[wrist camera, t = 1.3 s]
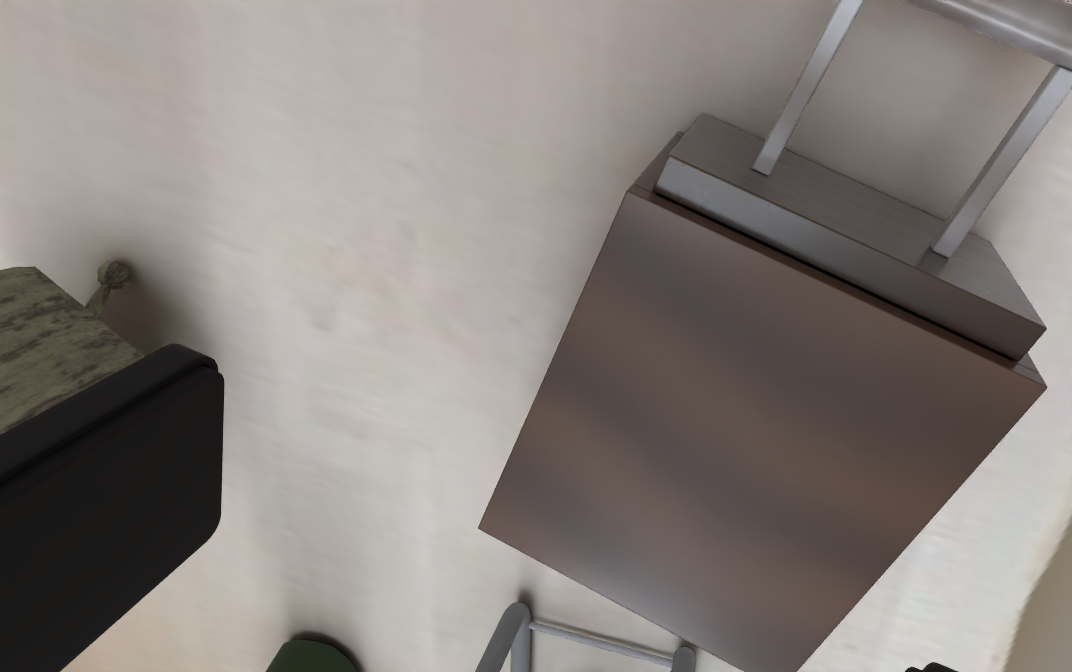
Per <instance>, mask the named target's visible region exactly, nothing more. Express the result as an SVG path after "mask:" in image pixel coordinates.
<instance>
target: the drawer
mask: <svg viewBox="0 0 1072 672" xmlns="http://www.w3.org/2000/svg"><path fill="white" fill-rule="evenodd" d="M902 1H904V2H907V3H909V4H912V5H914V6H916V7H919V8H921V9H924V10H926V11H928V12H931V13H933V14H936V15H938V16H940V17H943V18H945V19H947V20H950V21H952V22H955V23H957V24H959V25H962V26H964V27H967V28H969V29H971V30H974V31H976V32H979V33H981V34H983V35H986V36H988V37H991V38H993V39H995V40H998V41H1000V42H1003V43H1005V44H1007V45H1010V46H1012V47H1014V48H1017V49H1019V50H1022V51H1024V52H1026V53H1029V54H1031V55H1034V56H1036V57H1038V58H1041V59H1043V60H1046V61H1048V62H1050V63H1053V64H1055V66H1053V68H1052V69H1051V71H1050V72H1049V73H1048V75H1047V76H1046V78H1045V79H1044V81H1043V82H1042V83H1041V85H1040V86H1039V88H1038V89H1037V91H1036V92H1035V94H1034V95H1033V96H1032V98H1031V99H1030V101H1029V102H1028V104H1027V105H1026V107H1025V108H1024V109H1023V111H1022V112H1021V114H1020V115H1019V117H1018V118H1017V120H1016V121H1015V122H1014V124H1013V125H1012V127H1011V128H1010V130H1009V131H1008V132H1007V134H1006V135H1005V137H1004V138H1003V140H1002V141H1001V143H1000V144H999V145H998V147H997V148H996V150H995V151H994V153H993V154H992V156H991V157H990V158H989V160H988V161H987V163H986V164H985V166H984V167H983V168H982V170H981V171H980V173H979V174H978V176H977V177H976V179H975V180H974V181H973V183H972V184H971V186H970V187H969V189H968V190H967V192H966V193H965V194H964V196H963V197H962V199H961V200H960V202H959V203H958V204H957V206H956V207H955V209H954V210H953V212H952V213H951V215H950V216H949V217H948V219H947V220H946V222H945V221H943V220H941V219H938V218H936V217H934V216H932V215H930V214H927V213H925V212H923V211H921V210H918V209H916V208H914V207H912V206H910V205H907V204H905V203H903V202H901V201H898V200H896V199H894V198H892V197H890V196H887V195H885V194H883V193H881V192H878V191H876V190H874V189H872V188H870V187H867V186H865V185H863V184H861V183H858V182H856V181H854V180H852V179H850V178H847V177H845V176H843V175H841V174H838V173H836V172H834V171H832V170H830V169H827V168H825V167H823V166H821V165H818V164H816V163H814V162H812V161H810V160H807V159H805V158H803V157H801V156H798V155H796V154H794V153H792V152H790V151H787V150H785V149H784V148H785V146H786V144H787V142H788V140H789V138H790V136H791V135H792V133H793V131H794V129H795V127H796V125H797V124H798V122H799V120H800V118H801V116H802V114H803V112H804V111H805V109H806V107H807V105H808V103H809V101H810V100H811V98H812V96H813V94H814V92H815V90H816V88H817V87H818V85H819V83H820V81H821V79H822V77H823V76H824V74H825V72H826V70H827V68H828V66H829V64H830V63H831V61H832V59H833V57H834V55H835V53H836V51H837V50H838V48H839V46H840V44H841V42H842V40H843V39H844V37H845V35H846V33H847V31H848V29H849V27H850V26H851V24H852V22H853V20H854V18H855V16H856V15H857V13H858V11H859V9H860V7H861V5H862V3H863V2H864V0H839V1H838V3H837V5H836V7H835V9H834V11H833V13H832V15H831V16H830V18H829V20H828V22H827V24H826V26H825V28H824V30H823V32H822V34H821V35H820V37H819V39H818V41H817V43H816V45H815V47H814V49H813V51H812V53H811V55H810V56H809V58H808V60H807V62H806V64H805V66H804V68H803V70H802V72H801V74H800V76H799V77H798V79H797V81H796V83H795V85H794V87H793V89H792V91H791V93H790V95H789V96H788V98H787V100H786V102H785V104H784V106H783V108H782V110H781V112H780V114H779V116H778V117H777V119H776V121H775V123H774V125H773V127H772V129H771V131H770V133H769V135H768V136H767V138H766V140H763V139H761V138H758V137H756V136H754V135H752V134H750V133H747V132H745V131H743V130H741V129H738V128H736V127H734V126H732V125H730V124H727V123H725V122H723V121H721V120H718V119H716V118H714V117H712V116H710V115H707V114H705V113H702V114H701V115H700V116H699V117H698V119H697V120H696V121H695V122H694V124H693V125H692V126H691V127H690V129H689V130H688V131H687V132H686V134H685V135H684V136H683V138H682V139H681V140H680V141H679V143H678V144H677V145H676V146H675V148H674V149H673V150H672V151H671V153H670V154H669V155H668V157H667V159H666V161H665V163H664V165H663V168H662V170H661V172H660V174H659V176H658V178H657V181H656V183H655V185H654V187H653V191H654V192H656V193H658V194H660V195H662V196H664V197H666V198H668V199H671V200H673V201H675V202H677V203H676V205H678V206H681V207H683V208H685V209H687V210H689V211H691V212H693V213H696V214H698V215H700V216H702V217H704V218H706V219H708V220H710V221H713V222H715V223H717V224H719V225H721V226H723V227H725V228H728V229H730V230H732V231H734V232H736V233H738V234H740V235H743V236H745V237H747V238H749V239H751V240H753V241H755V242H758V243H760V244H762V245H764V246H766V247H768V248H770V249H773V250H775V251H777V252H779V253H781V254H783V255H785V256H788V257H790V258H792V259H794V260H796V261H798V262H800V263H803V264H805V265H807V266H809V267H811V268H813V269H815V270H818V271H820V272H822V273H824V274H826V275H828V276H830V277H833V278H835V279H837V280H839V281H841V282H843V283H845V284H848V285H850V286H852V287H854V288H856V289H858V290H860V291H863V292H865V293H867V294H869V295H871V296H873V297H875V298H878V299H880V300H882V301H884V302H886V303H888V304H890V305H893V306H895V307H897V308H899V309H901V310H903V311H905V312H908V313H910V314H912V315H914V316H916V317H918V318H920V319H923V320H925V321H927V322H929V323H931V324H933V325H935V326H938V327H940V328H942V329H944V327H945V328H947V329H949V330H951V331H954V332H956V333H958V334H960V335H962V336H964V337H966V338H969V339H971V340H973V341H975V342H977V343H979V344H981V345H984V346H986V347H988V348H990V349H992V350H994V351H996V352H999V353H1001V354H1003V355H1005V356H1007V357H1009V358H1011V359H1014V360H1016V361H1020V360H1021V359H1022V358H1023V357H1024V356H1025V354H1026V353H1027V352H1028V351H1029V350H1030V348H1031V347H1032V346H1033V345H1034V344H1035V343H1036V341H1037V340H1038V339H1039V338H1040V337H1041V335H1042V334H1043V333H1044V332H1045V331H1046V329H1047V328H1046V326H1045V325H1044V323H1043V322H1042V320H1041V319H1040V317H1039V316H1038V314H1037V312H1036V311H1035V309H1034V308H1033V306H1032V305H1031V303H1030V302H1029V300H1028V299H1027V297H1026V296H1025V294H1024V293H1023V291H1022V290H1021V288H1020V286H1019V285H1018V283H1017V282H1016V280H1015V279H1014V277H1013V276H1012V274H1011V273H1010V271H1009V270H1008V268H1007V267H1006V265H1005V264H1004V262H1003V261H1002V259H1001V257H1000V256H999V254H998V253H997V251H996V250H995V248H994V247H993V245H992V244H991V242H990V241H987V240H985V239H983V238H981V237H978V236H976V235H974V234H972V233H970V232H969V231H970V229H971V228H972V227H973V225H974V224H975V222H976V221H977V220H978V218H979V217H980V215H981V214H982V213H983V211H984V210H985V209H986V207H987V206H988V204H989V203H990V202H991V200H992V199H993V197H994V196H995V195H996V193H997V192H998V190H999V189H1000V188H1001V186H1002V185H1003V183H1004V182H1005V181H1006V179H1007V178H1008V176H1009V175H1010V174H1011V172H1012V171H1013V169H1014V168H1015V167H1016V165H1017V164H1018V163H1019V161H1020V160H1021V158H1022V157H1023V156H1024V154H1025V153H1026V151H1027V150H1028V149H1029V147H1030V146H1031V144H1032V143H1033V142H1034V140H1035V139H1036V137H1037V136H1038V135H1039V133H1040V132H1041V130H1042V129H1043V128H1044V126H1045V125H1046V123H1047V122H1048V121H1049V119H1050V118H1051V117H1052V115H1053V114H1054V112H1055V111H1056V110H1057V108H1058V107H1059V105H1060V104H1061V103H1062V101H1063V100H1064V98H1065V97H1066V96H1067V94H1068V93H1069V91H1070V90H1071V89H1072V4H1069V3H1067V2H1065V1H1062V0H902ZM1057 65H1058V66H1057ZM944 330H945V329H944Z"/></svg>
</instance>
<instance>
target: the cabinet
mask: <svg viewBox="0 0 1072 672" xmlns="http://www.w3.org/2000/svg"><path fill="white" fill-rule="evenodd" d="M684 135H685V134H683V133H681V132H677V133H676V134H675V136H674V137H673V138H672V139H671V140H670V142H669V143H668V144H667V145H666V146H665V147H664V149H663V150H662V151H661V152H660V153H659V154H658V156H657V157H656V158H655V159H654V160H653V161H652V163H651V164H650V165H649V166H648V167H647V168H646V170H645V171H644V172H643V173H642V174H641V175H640V177H639V178H638V179H637V180H636V181H635V182H634V184H633V185H631V187H630V188H629V189H628V190H627V191H626V194H625V196H624V198H623V200H622V203H621V205H620V207H619V209H618V212H617V214H616V216H615V219H614V221H613V223H612V225H611V228H610V230H609V232H608V234H607V237H606V239H605V241H604V243H603V246H602V248H601V250H600V252H599V255H598V257H597V259H596V262H595V264H594V266H593V268H592V271H591V273H590V275H589V277H588V280H587V282H586V284H585V286H584V289H583V291H582V293H581V296H580V298H579V300H578V302H577V305H576V307H575V309H574V311H573V314H572V316H571V318H570V320H569V323H568V325H567V327H566V329H565V332H564V334H563V336H562V339H561V341H560V343H559V345H558V348H557V350H556V352H555V354H554V357H553V359H552V361H551V363H550V366H549V368H548V370H547V372H546V375H545V377H544V379H543V382H542V384H541V386H540V388H539V391H538V393H537V395H536V397H535V400H534V402H533V404H532V406H531V409H530V411H529V413H528V416H527V418H526V420H525V422H524V425H523V427H522V429H521V431H520V434H519V436H518V438H517V440H516V443H515V445H514V447H513V449H512V452H511V454H510V456H509V459H508V461H507V463H506V465H505V468H504V470H503V472H502V474H501V477H500V479H499V481H498V483H497V486H496V488H495V490H494V493H493V495H492V497H491V499H490V502H489V504H488V506H487V508H486V511H485V513H484V515H483V517H482V520H481V522H480V524H479V526H478V529H480V530H482V531H483V532H485V533H487V534H489V535H491V536H493V537H495V538H496V539H498V540H500V541H502V542H504V543H506V544H508V545H509V546H511V547H513V548H515V549H517V550H519V551H521V552H522V553H524V554H526V555H528V556H530V557H532V558H534V559H535V560H537V561H539V562H541V563H543V564H545V565H547V566H549V567H550V568H552V569H554V570H556V571H558V572H560V573H562V574H563V575H565V576H567V577H569V578H571V579H573V580H575V581H576V582H578V583H580V584H582V585H584V586H586V587H588V588H589V589H591V590H593V591H595V592H597V593H599V594H601V595H602V596H604V597H606V598H608V599H610V600H612V601H614V602H616V603H617V604H619V605H621V606H623V607H625V608H627V609H629V610H630V611H632V612H634V613H636V614H638V615H640V616H642V617H643V618H645V619H647V620H649V621H651V622H653V623H655V624H656V625H658V626H660V627H662V628H664V629H666V630H668V631H669V632H671V633H673V634H675V635H677V636H679V637H681V638H682V639H684V640H686V641H688V642H690V643H692V644H694V645H696V646H697V647H699V648H701V649H703V650H705V651H707V652H709V653H710V654H712V655H714V656H716V657H718V658H720V659H722V660H723V661H725V662H727V663H729V664H731V665H733V666H735V667H736V668H738V669H740V670H742V671H744V672H797V671H798V670H799V669H800V667H801V666H802V665H803V664H804V663H805V662H806V661H807V659H808V658H809V657H810V656H811V655H812V654H813V653H814V652H815V650H816V649H817V648H818V647H819V646H820V645H821V644H822V642H823V641H824V640H825V639H826V638H827V637H828V636H829V635H830V633H831V632H832V631H833V630H834V629H835V628H836V627H837V625H838V624H839V623H840V622H841V621H842V620H843V619H844V618H845V616H846V615H847V614H848V613H849V612H850V611H851V610H852V609H853V607H854V606H855V605H856V604H857V603H858V602H859V601H860V599H861V598H862V597H863V596H864V595H865V594H866V593H867V592H868V590H869V589H870V588H871V587H872V586H873V585H874V584H875V582H876V581H877V580H878V579H879V578H880V577H881V576H882V575H883V573H884V572H885V571H886V570H887V569H888V568H889V567H890V565H891V564H892V563H893V562H894V561H895V560H896V559H897V558H898V556H899V555H900V554H901V553H902V552H903V551H904V550H905V549H906V547H907V546H908V545H909V544H910V543H911V542H912V541H913V539H914V538H915V537H916V536H917V535H918V534H919V533H920V532H921V530H922V529H923V528H924V527H925V526H926V525H927V524H928V522H929V521H930V520H931V519H932V518H933V517H934V516H935V515H936V513H937V512H938V511H939V510H940V509H941V508H942V507H943V505H944V504H945V503H946V502H947V501H948V500H949V499H950V498H951V496H952V495H953V494H954V493H955V492H956V491H957V490H958V488H959V487H960V486H961V485H962V484H963V483H964V482H965V481H966V479H967V478H968V477H969V476H970V475H971V474H972V473H973V472H974V470H975V469H976V468H977V467H978V466H979V465H980V464H981V462H982V461H983V460H984V459H985V458H986V457H987V456H988V455H989V453H990V452H991V451H992V450H993V449H994V448H995V447H996V445H997V444H998V443H999V442H1000V441H1001V440H1002V439H1003V438H1004V436H1005V435H1006V434H1007V433H1008V432H1009V431H1010V430H1011V428H1012V427H1013V426H1014V425H1015V424H1016V423H1017V422H1018V421H1019V419H1020V418H1021V417H1022V416H1023V415H1024V414H1025V413H1026V412H1027V410H1028V409H1029V408H1030V407H1031V406H1032V405H1033V404H1034V402H1035V401H1036V400H1037V399H1038V398H1039V397H1040V396H1041V395H1042V393H1043V392H1044V391H1045V390H1046V389H1047V386H1046V384H1045V382H1044V380H1043V378H1042V377H1041V375H1040V374H1039V372H1038V370H1037V368H1036V367H1035V365H1034V363H1033V361H1032V359H1031V358H1030V356H1029V354H1028V352H1027V353H1026V354H1025V356H1024V357H1023V358H1022V359H1021V360H1020V361H1016V360H1014V359H1011V358H1009V357H1007V356H1005V355H1003V354H1001V353H999V352H996V351H994V350H992V349H990V348H988V347H986V346H984V345H981V344H979V343H977V342H975V341H973V340H971V339H969V338H966V337H964V336H962V335H960V334H958V333H956V332H954V331H951V330H949V329H947V328H945V327H944V329H945V330H944V329H942V328H940V327H938V326H935V325H933V324H931V323H929V322H927V321H925V320H923V319H920V318H918V317H916V316H914V315H912V314H910V313H908V312H905V311H903V310H901V309H899V308H897V307H895V306H893V305H890V304H888V303H886V302H884V301H882V300H880V299H878V298H875V297H873V296H871V295H869V294H867V293H865V292H863V291H860V290H858V289H856V288H854V287H852V286H850V285H848V284H845V283H843V282H841V281H839V280H837V279H835V278H833V277H830V276H828V275H826V274H824V273H822V272H820V271H818V270H815V269H813V268H811V267H809V266H807V265H805V264H803V263H800V262H798V261H796V260H794V259H792V258H790V257H788V256H785V255H783V254H781V253H779V252H777V251H775V250H773V249H770V248H768V247H766V246H764V245H762V244H760V243H758V242H755V241H753V240H751V239H749V238H747V237H745V236H743V235H740V234H738V233H736V232H734V231H732V230H730V229H728V228H725V227H723V226H721V225H719V224H717V223H715V222H713V221H710V220H708V219H706V218H704V217H702V216H700V215H698V214H696V213H693V212H691V211H689V210H687V209H685V208H683V207H681V206H678V205H676V203H677V202H675V201H673V200H671V199H668V198H666V197H664V196H662V195H660V194H658V193H656V192H654V191H653V187H654V185H655V183H656V181H657V178H658V176H659V174H660V172H661V170H662V168H663V165H664V163H665V161H666V159H667V157H668V155H669V154H670V153H671V151H672V150H673V149H674V148H675V146H676V145H677V144H678V143H679V141H680V140H681V139H682V138H683V136H684Z"/></svg>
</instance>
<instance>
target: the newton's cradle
mask: <svg viewBox="0 0 1072 672" xmlns="http://www.w3.org/2000/svg"><path fill="white" fill-rule="evenodd" d="M531 629H533V630H537V631H540V632H544V633H548V634H551V635H555V636H559V637H562V638H566V639H569V640H573V641H577V642H580V643H584V644H587V645H591V646H595V647H598V648H602V649H606V650H609V651H613V652H616V653H620V654H624V655H627V656H631V657H635V658H638V659H642V660H645V661H649V662H653V663H656V664H660V665H663V666H667V667H671V668H672V669H671V672H694V671H695V665H696V655H695V653H694V652H693V650H692V649H690V648H688V647H681V648H679V649H678V650H677V651H676V653H675V655H674V659H673V660H671V659H667V658H663V657H660V656H656V655H652V654H649V653H645V652H641V651H638V650H634V649H630V648H627V647H623V646H619V645H616V644H612V643H608V642H605V641H601V640H597V639H594V638H590V637H587V636H583V635H579V634H576V633H572V632H568V631H565V630H561V629H557V628H554V627H550V626H546V625H543V624H539V623H535V622H532V621H531V617H530V612H529V609H528V607H527V606H526V605H525V604H523V603H513V604H511V605H510V606H509V607H508V608H507V609H506V610H505V612H504V614H503V616H502V617H501V619H500V621H499V624H498V626H497V628H496V630H495V632H494V634H493V636H492V638H491V640H490V642H489V644H488V646H487V648H486V650H485V652H484V654H483V657H482V659H481V661H480V663H479V665H478V667H477V669H476V671H475V672H500V670H501V668H502V666H503V663H504V661H505V659H506V657H507V655H508V652H509V650H510V648H511V672H529V670H530V632H531Z"/></svg>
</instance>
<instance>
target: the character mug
mask: <svg viewBox="0 0 1072 672" xmlns="http://www.w3.org/2000/svg"><path fill="white" fill-rule="evenodd" d="M266 672H357V671H356V669H355V668H354V666H353V665H352V663H351V662H350V660H349V659H348V658H346V657H345V656H344V655H343V654H341V653H340V652H339V651H338V650H337V649H335V648H334V647H333V646H329V645H325V644H322V643H318V642H314V641H308V640H298V639H294V640H292V641H289V642H286V643H284V644H283V645H282V647H281V649H280V650H279V652H278V653H277V655H276V656H275V658H274V659H273V661H272V662H271V664H270V666H269V667H268V669H267V671H266Z"/></svg>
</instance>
